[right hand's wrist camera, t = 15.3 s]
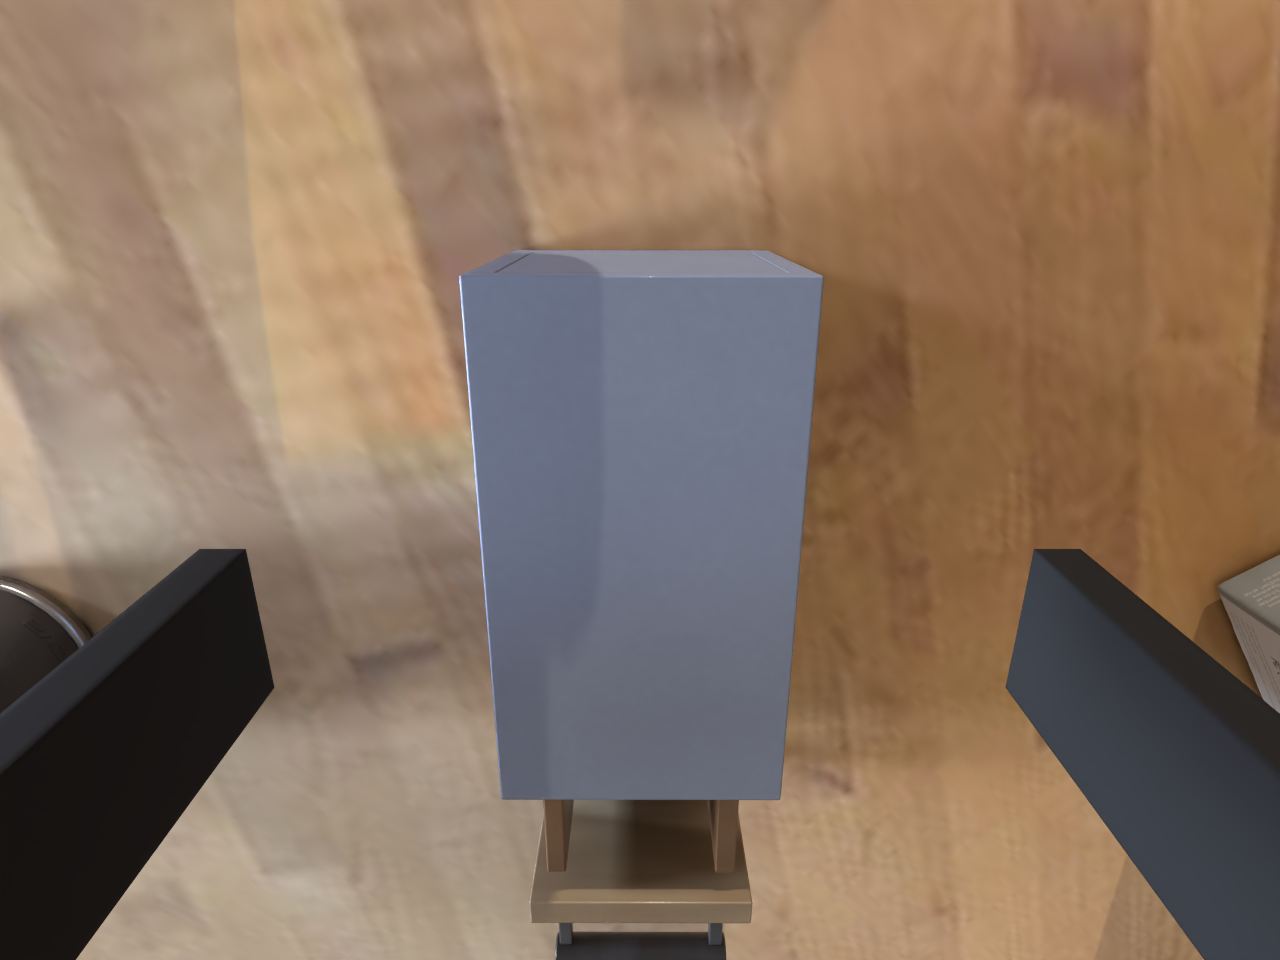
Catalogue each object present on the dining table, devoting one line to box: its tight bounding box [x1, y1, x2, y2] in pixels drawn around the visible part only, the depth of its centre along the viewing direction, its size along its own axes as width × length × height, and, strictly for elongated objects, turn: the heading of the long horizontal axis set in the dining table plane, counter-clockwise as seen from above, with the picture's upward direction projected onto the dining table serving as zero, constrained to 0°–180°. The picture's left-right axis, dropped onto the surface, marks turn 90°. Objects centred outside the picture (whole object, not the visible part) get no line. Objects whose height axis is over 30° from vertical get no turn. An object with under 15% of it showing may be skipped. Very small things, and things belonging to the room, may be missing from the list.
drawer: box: [529, 800, 752, 960], centre depth 34 cm, size 24×9×8 cm, turn 0°
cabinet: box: [459, 250, 824, 800], centre depth 30 cm, size 19×11×10 cm, turn 0°
